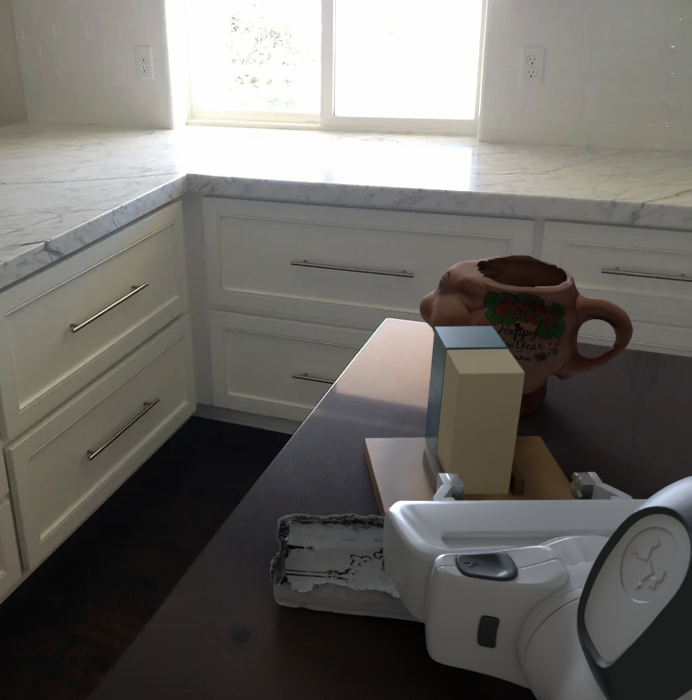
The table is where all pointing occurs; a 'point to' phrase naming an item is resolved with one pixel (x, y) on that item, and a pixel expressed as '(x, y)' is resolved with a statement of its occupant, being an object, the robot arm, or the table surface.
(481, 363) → the beige rectangular block
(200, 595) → the table surface
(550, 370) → the brown sculpted mug
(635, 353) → the table surface
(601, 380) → the table surface
